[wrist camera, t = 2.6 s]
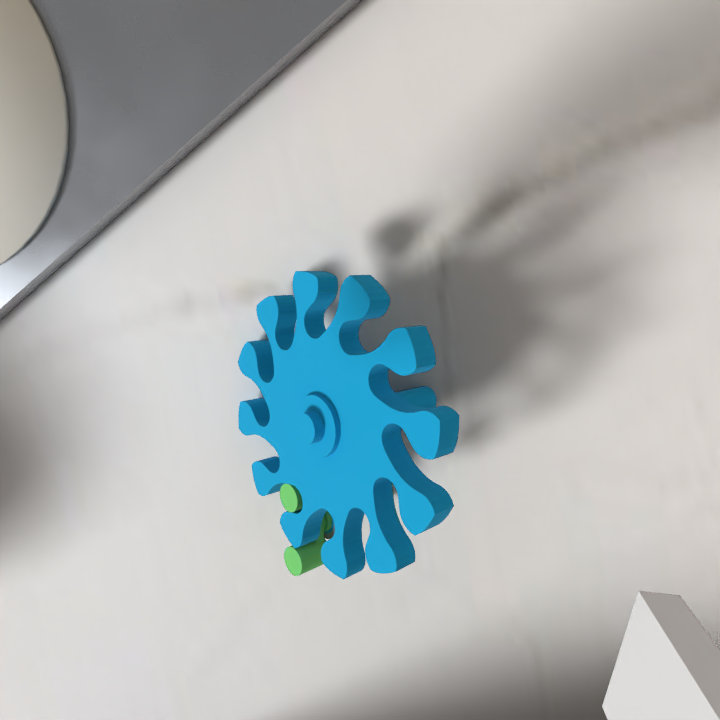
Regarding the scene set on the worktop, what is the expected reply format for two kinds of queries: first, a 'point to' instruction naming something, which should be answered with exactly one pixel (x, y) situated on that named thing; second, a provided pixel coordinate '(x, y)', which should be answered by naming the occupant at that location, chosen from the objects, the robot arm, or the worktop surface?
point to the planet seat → (28, 126)
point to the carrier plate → (149, 100)
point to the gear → (344, 427)
